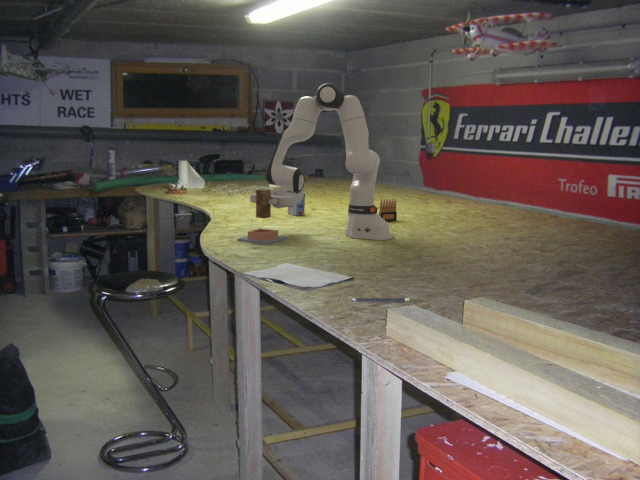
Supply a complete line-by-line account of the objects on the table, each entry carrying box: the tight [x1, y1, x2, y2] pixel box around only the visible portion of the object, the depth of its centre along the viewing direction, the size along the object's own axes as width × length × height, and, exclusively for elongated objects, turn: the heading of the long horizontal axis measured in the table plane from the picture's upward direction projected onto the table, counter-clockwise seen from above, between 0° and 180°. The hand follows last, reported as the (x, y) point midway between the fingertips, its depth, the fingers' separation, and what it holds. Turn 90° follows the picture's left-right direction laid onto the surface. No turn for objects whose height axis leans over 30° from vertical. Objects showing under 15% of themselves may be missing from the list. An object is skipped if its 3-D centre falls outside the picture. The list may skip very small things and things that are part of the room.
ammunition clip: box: [378, 198, 398, 223], centre depth 330 cm, size 11×2×12 cm, turn 120°
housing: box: [236, 227, 289, 246], centre depth 272 cm, size 16×16×4 cm
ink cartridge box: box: [287, 193, 306, 217], centre depth 344 cm, size 10×6×14 cm, turn 33°
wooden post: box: [255, 188, 272, 219], centre depth 270 cm, size 4×4×12 cm
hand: (262, 201), depth 269 cm, fingers closed on wooden post, 4 cm apart
